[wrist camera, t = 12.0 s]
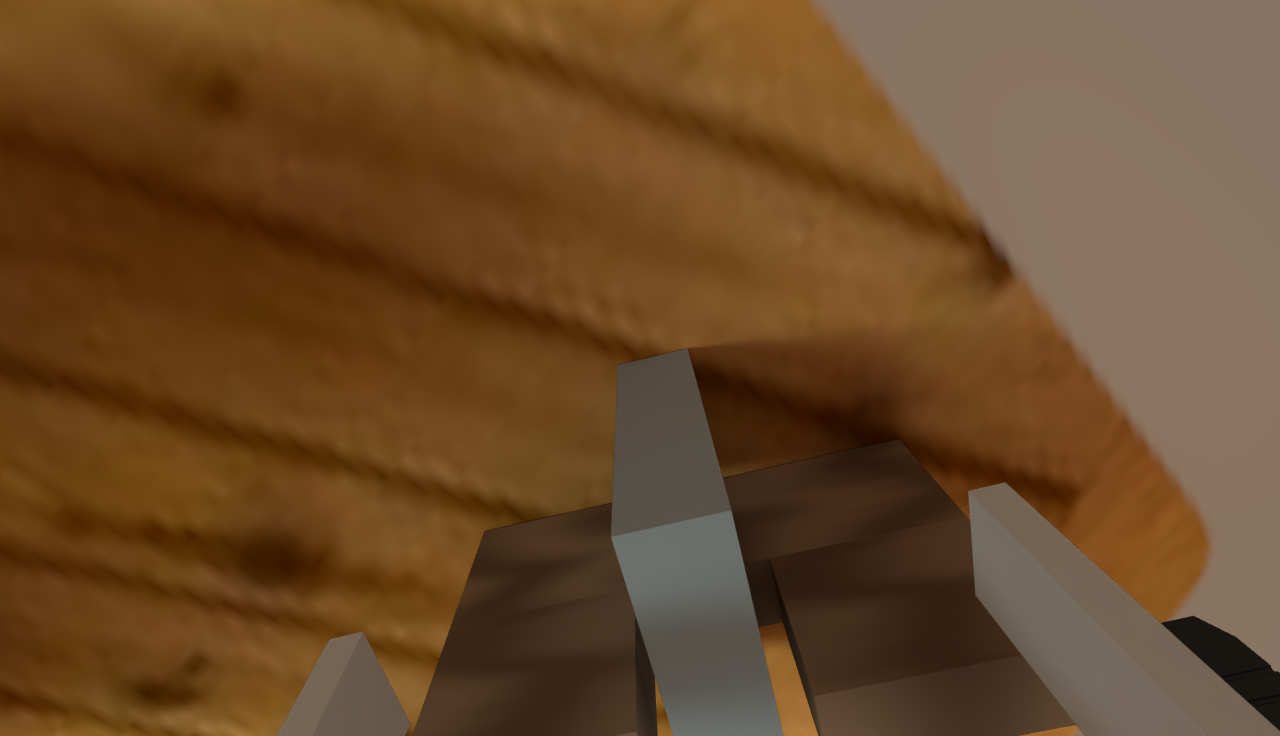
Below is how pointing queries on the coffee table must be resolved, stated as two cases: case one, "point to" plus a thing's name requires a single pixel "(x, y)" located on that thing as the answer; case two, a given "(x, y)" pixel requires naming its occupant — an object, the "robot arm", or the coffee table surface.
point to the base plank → (781, 592)
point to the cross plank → (685, 556)
